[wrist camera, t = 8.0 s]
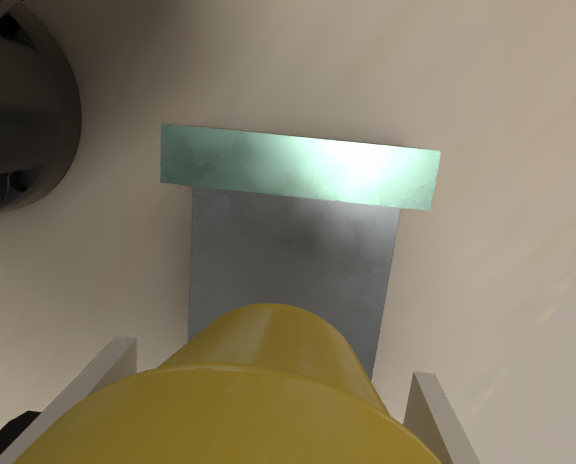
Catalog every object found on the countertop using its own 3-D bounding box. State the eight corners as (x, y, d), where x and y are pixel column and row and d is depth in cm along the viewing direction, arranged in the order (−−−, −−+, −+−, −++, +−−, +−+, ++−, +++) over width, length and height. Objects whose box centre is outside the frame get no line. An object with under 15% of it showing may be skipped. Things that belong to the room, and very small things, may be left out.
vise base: (190, 420, 33) (155, 501, 26) (201, 126, 27) (161, 123, 20) (356, 440, 32) (369, 529, 25) (405, 146, 26) (441, 151, 19)
